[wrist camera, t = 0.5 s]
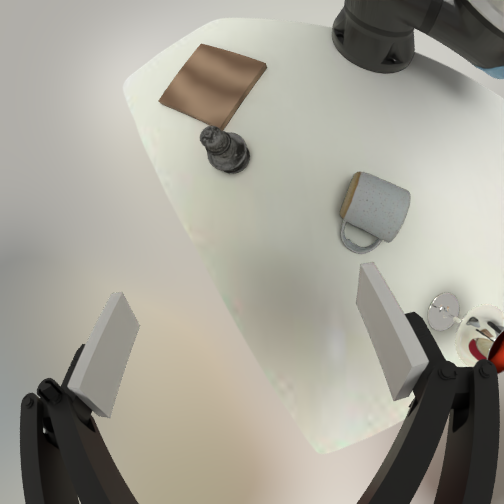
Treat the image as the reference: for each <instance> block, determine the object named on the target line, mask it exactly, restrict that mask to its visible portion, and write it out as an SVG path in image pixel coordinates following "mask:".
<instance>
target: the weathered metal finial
mask: <svg viewBox="0 0 504 504" xmlns="http://www.w3.org/2000/svg"><path fill="white" fill-rule="evenodd" d="M200 141H201V143H202V144H203V145H204V146H205V148H206V150H207V155H208V159H209V162H210V163H211V164H212V166H213V167H215V168H216V169H219V170H223V171H224V172H226V173H238V172H240V171H242V170H243V169H244V168H245V167H246V166H247V164H248V162H249V158H250V154H249V150H248V148H247V147H246V143H245V141H244V140H243V139H242V137H241V136H239V135H237V134H235V133H227V132H225V131H221V130H220V129H219V128H218V127H216V126H208V127H206V128H205V129H204V130H203V131H202V132H201V134H200Z"/></svg>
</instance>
